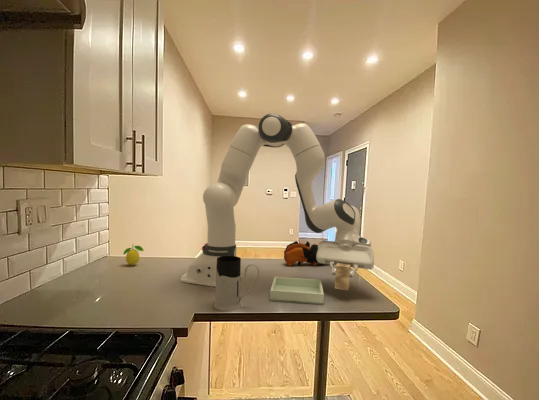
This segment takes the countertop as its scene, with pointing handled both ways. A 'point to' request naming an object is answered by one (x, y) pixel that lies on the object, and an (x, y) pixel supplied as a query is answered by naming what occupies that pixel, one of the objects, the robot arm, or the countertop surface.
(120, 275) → the countertop surface
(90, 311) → the countertop surface
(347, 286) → the block
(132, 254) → the lemon
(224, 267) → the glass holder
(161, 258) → the countertop surface
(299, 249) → the tool
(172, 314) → the countertop surface
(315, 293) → the tray
